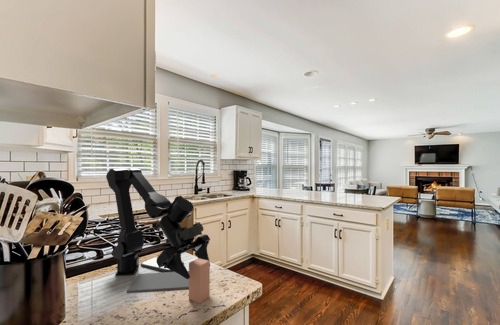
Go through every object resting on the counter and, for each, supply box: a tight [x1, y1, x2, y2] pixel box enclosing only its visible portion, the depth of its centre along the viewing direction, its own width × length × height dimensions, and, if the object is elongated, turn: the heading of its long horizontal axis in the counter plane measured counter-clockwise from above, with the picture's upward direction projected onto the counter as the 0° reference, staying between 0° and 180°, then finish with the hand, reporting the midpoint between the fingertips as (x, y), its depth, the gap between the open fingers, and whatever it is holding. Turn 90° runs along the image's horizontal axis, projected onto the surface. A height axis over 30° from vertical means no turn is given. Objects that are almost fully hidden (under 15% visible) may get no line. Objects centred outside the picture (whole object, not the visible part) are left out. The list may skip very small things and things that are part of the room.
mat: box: [126, 270, 189, 293], centre depth 87 cm, size 22×12×1 cm, turn 98°
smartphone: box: [140, 256, 185, 273], centre depth 100 cm, size 9×2×16 cm
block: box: [188, 257, 211, 304], centre depth 76 cm, size 4×4×11 cm
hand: (199, 272), depth 76 cm, fingers open, 9 cm apart
